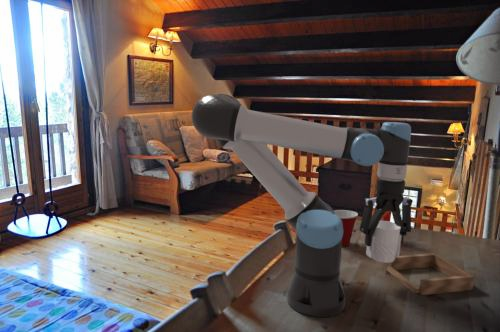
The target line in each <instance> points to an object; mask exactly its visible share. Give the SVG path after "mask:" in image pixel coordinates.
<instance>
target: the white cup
mask: <svg viewBox="0 0 500 332" xmlns="http://www.w3.org/2000/svg"><path fill="white" fill-rule="evenodd" d="M400 230H401V227H400V226H397V225H396V224H395V223H394V221H392V222H391V221H390V222H388V221H379V223H378V225H377V227H376V230H375V232H374V234H373V235H374V236H375V246H374V255H373V258H371V259H372V260H374V261H376V262H379V263H385V264H387V263H388V264H389V263H390V262H393V261H394V260H395V256H396V251H397V246H398V241H399V235H400Z"/></svg>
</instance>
